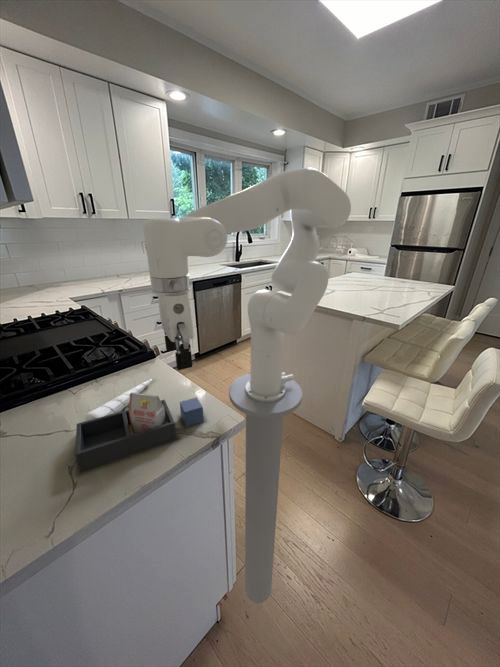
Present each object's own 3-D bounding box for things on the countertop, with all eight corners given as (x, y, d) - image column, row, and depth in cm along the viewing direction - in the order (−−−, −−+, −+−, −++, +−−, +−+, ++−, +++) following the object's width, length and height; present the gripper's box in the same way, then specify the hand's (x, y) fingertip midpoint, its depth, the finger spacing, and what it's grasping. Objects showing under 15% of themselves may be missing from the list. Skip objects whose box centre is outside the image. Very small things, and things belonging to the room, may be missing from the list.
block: (197, 411, 73) (196, 397, 72) (203, 421, 70) (202, 406, 68) (181, 416, 71) (179, 402, 70) (186, 427, 68) (184, 412, 66)
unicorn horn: (162, 382, 86) (160, 369, 84) (100, 434, 65) (96, 418, 63) (150, 379, 87) (148, 366, 85) (85, 430, 66) (81, 413, 65)
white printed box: (141, 422, 68) (135, 388, 64) (166, 426, 67) (162, 391, 63) (132, 433, 64) (125, 397, 61) (159, 437, 63) (153, 401, 59)
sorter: (166, 413, 72) (164, 399, 70) (176, 439, 64) (174, 423, 62) (81, 439, 64) (76, 423, 62) (80, 472, 55) (75, 455, 54)
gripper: (202, 291, 51) (207, 372, 57) (177, 275, 65) (184, 341, 71) (160, 296, 48) (171, 381, 54) (144, 278, 62) (154, 347, 68)
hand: (178, 358), depth 63 cm, fingers open, 9 cm apart
